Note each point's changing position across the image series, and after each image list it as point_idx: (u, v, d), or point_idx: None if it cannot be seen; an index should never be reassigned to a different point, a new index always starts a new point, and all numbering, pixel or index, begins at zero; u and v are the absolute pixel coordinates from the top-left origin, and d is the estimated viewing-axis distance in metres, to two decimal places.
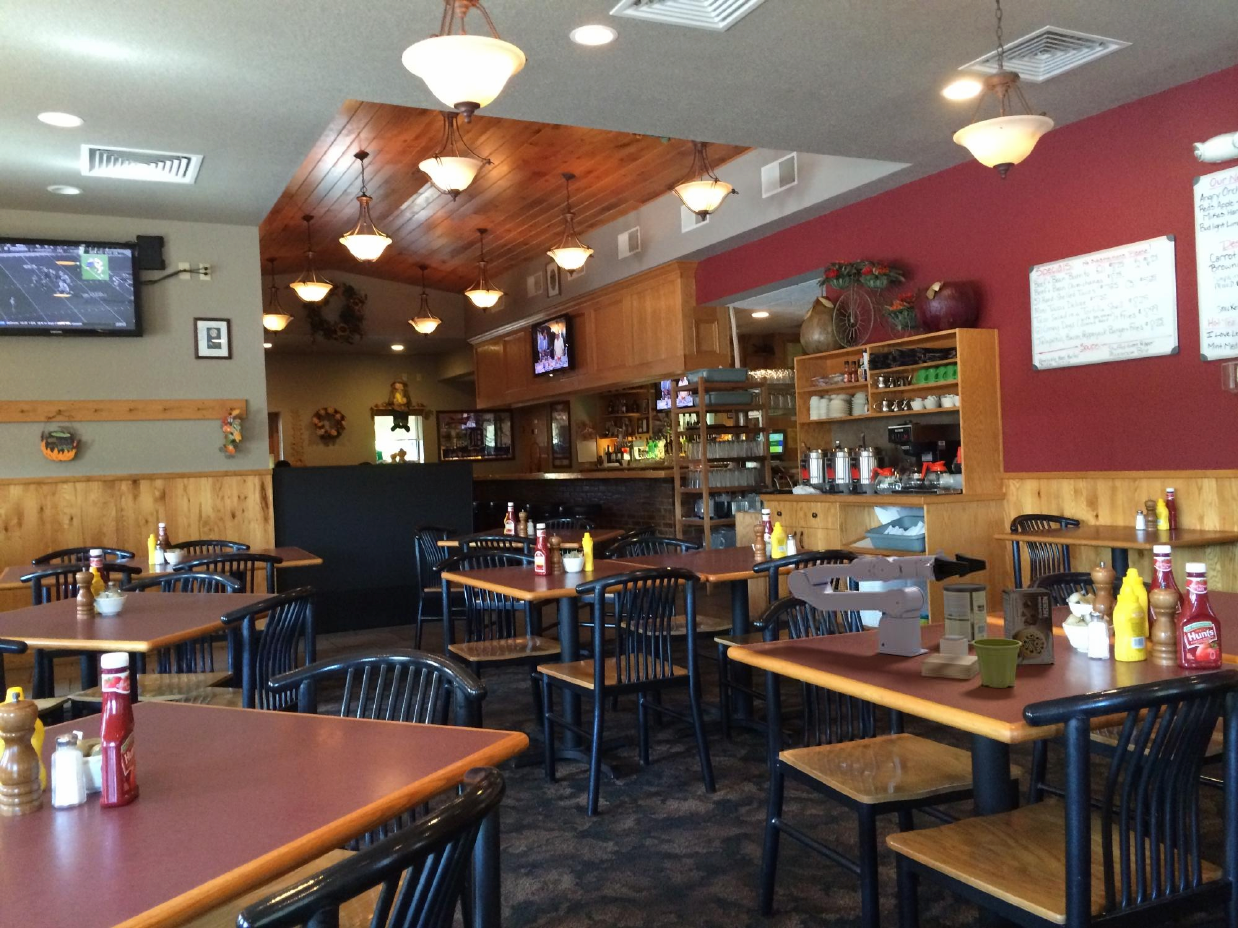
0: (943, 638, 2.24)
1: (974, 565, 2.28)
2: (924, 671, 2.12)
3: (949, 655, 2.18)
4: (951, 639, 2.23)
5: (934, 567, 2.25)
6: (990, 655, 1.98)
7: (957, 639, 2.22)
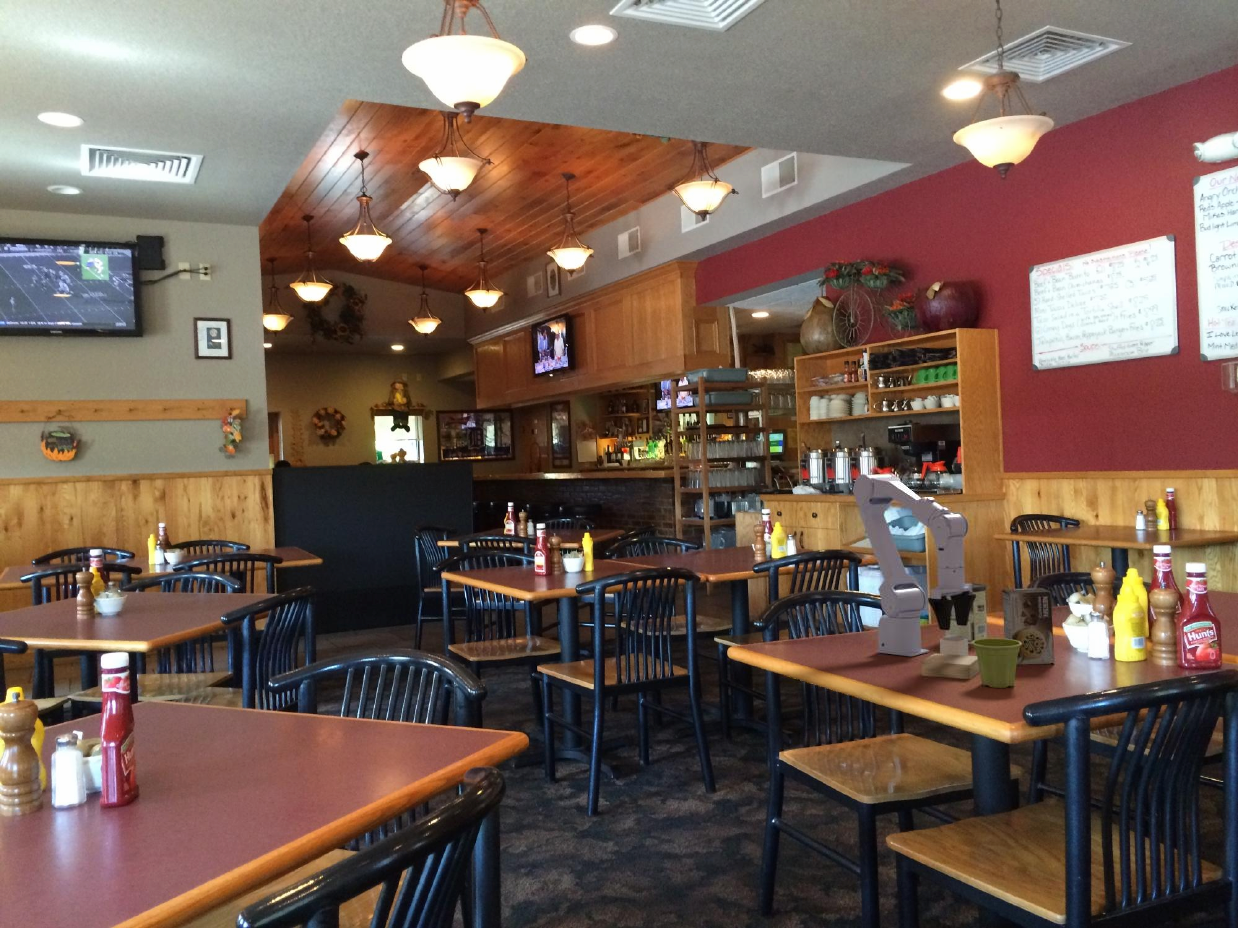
0: (943, 638, 2.24)
1: (961, 614, 2.27)
2: (924, 671, 2.12)
3: (949, 655, 2.18)
4: (951, 639, 2.23)
5: (939, 600, 2.20)
6: (990, 655, 1.98)
7: (957, 639, 2.22)
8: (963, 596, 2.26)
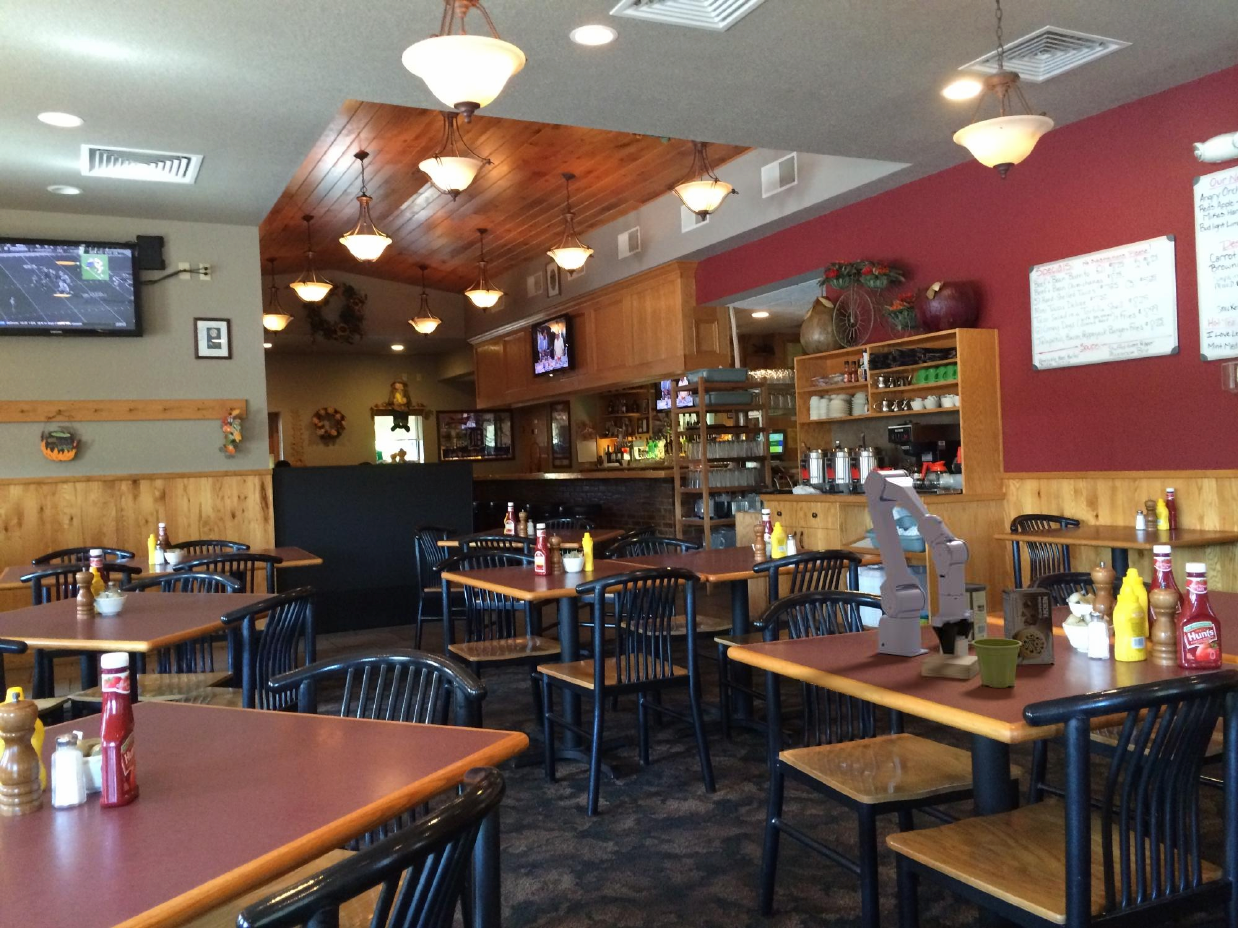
0: None
1: None
2: (924, 671, 2.12)
3: (949, 655, 2.18)
4: None
5: (943, 626, 2.21)
6: (990, 655, 1.98)
7: (957, 639, 2.22)
8: (961, 623, 2.25)
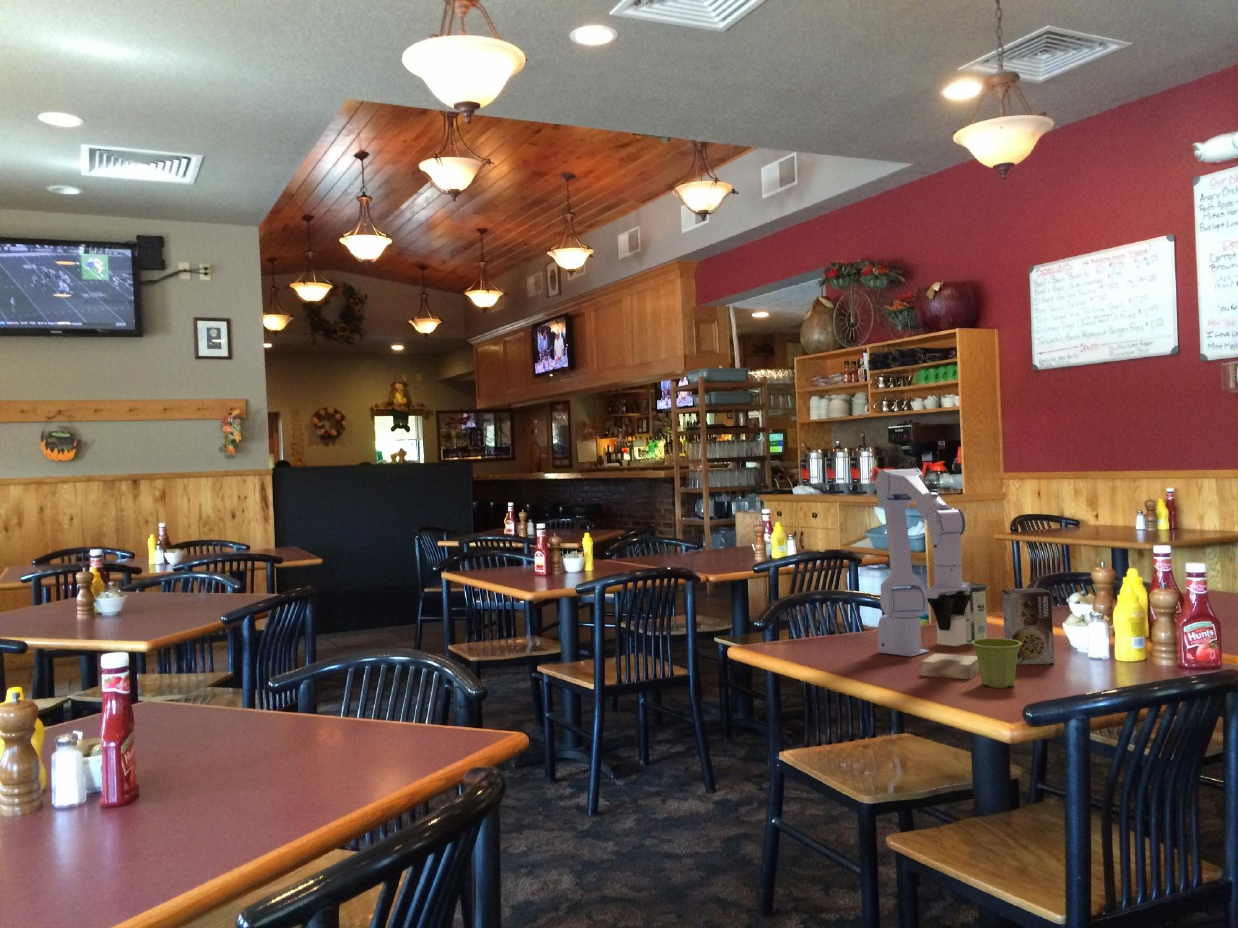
0: None
1: None
2: (924, 671, 2.12)
3: (949, 655, 2.18)
4: None
5: (939, 599, 2.11)
6: (990, 655, 1.98)
7: (955, 618, 2.12)
8: (957, 596, 2.15)
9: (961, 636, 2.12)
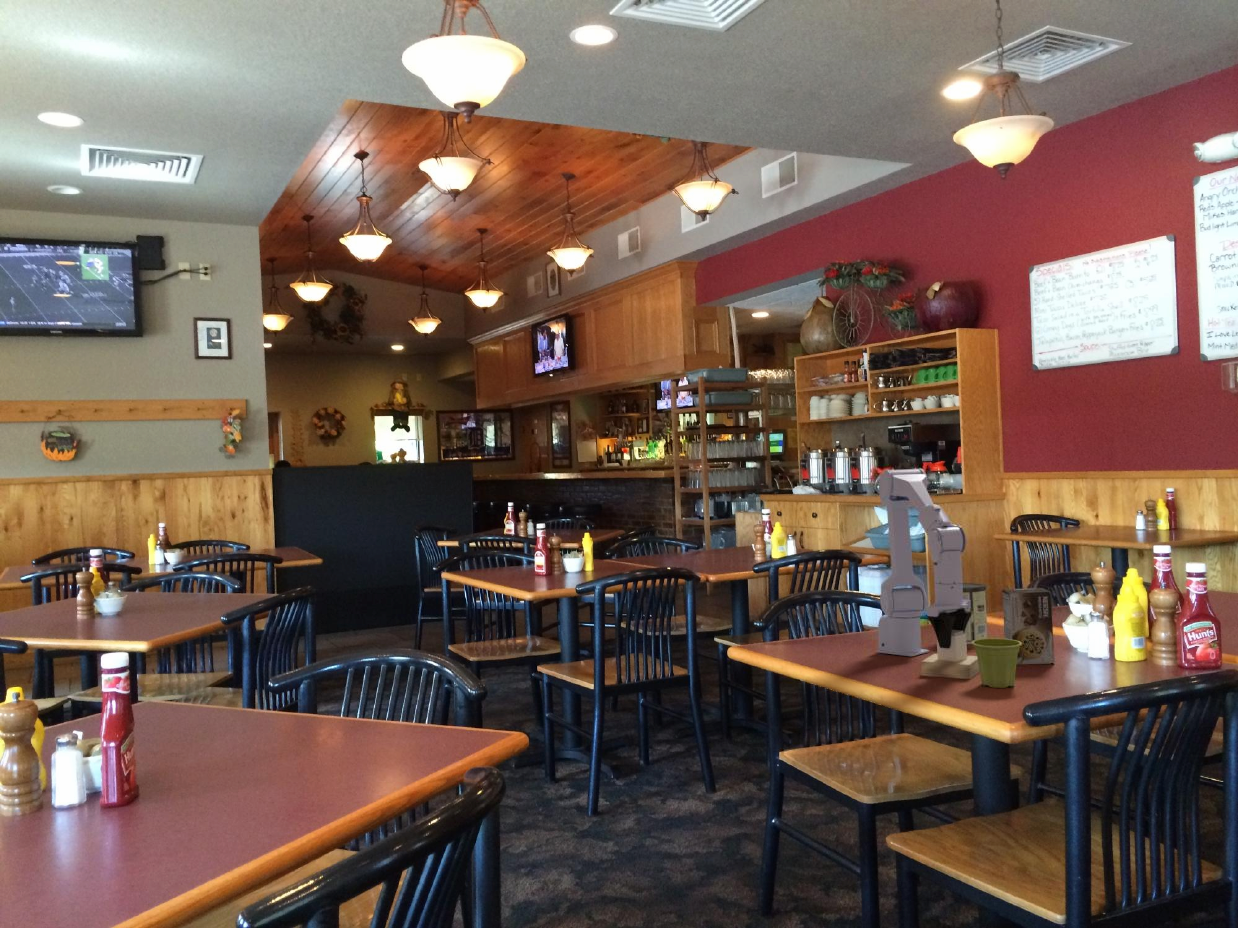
0: None
1: None
2: (924, 671, 2.12)
3: None
4: None
5: (939, 617, 2.10)
6: (990, 655, 1.98)
7: (955, 633, 2.11)
8: (958, 614, 2.15)
9: (961, 652, 2.12)
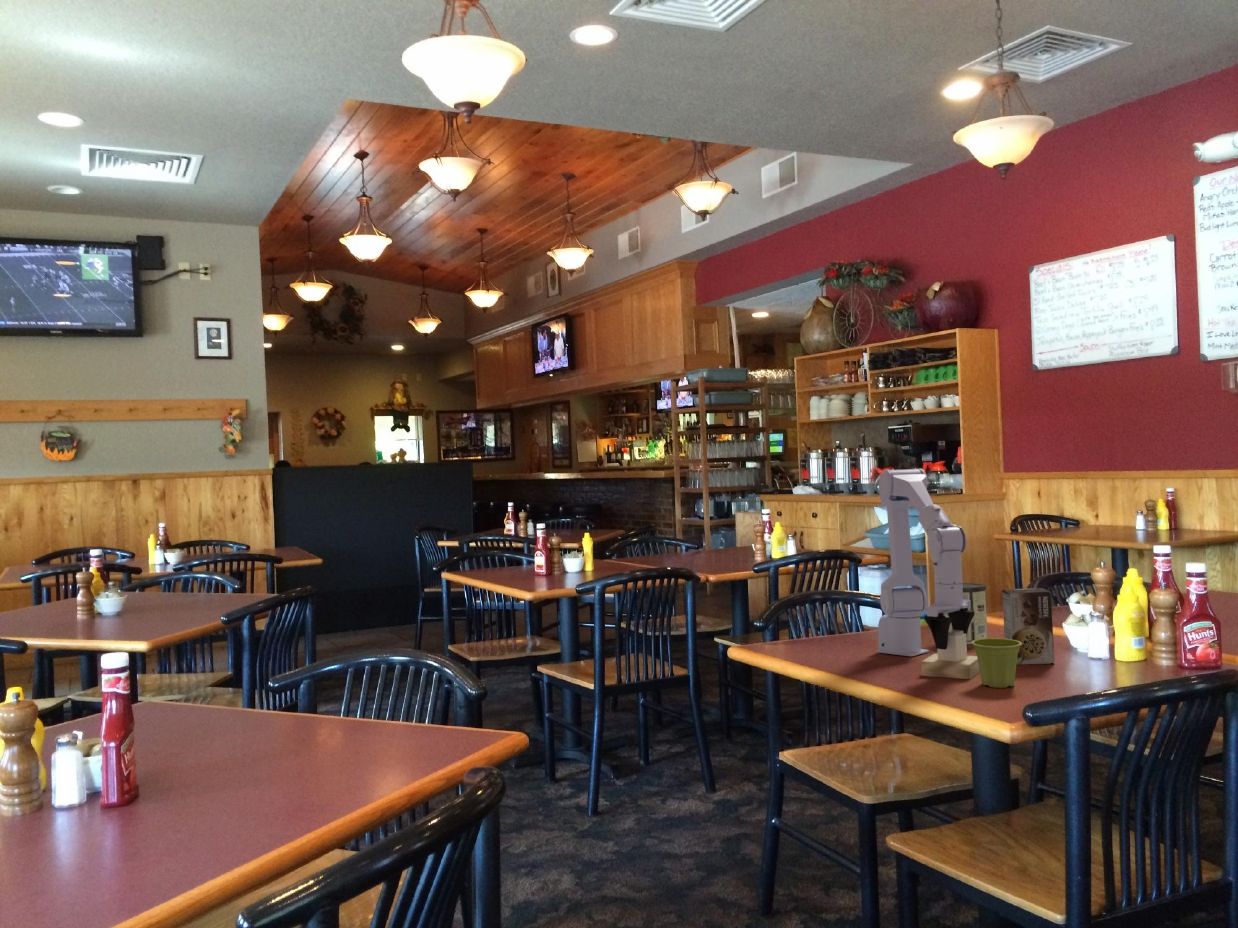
0: None
1: None
2: (924, 671, 2.12)
3: None
4: (949, 633, 2.12)
5: (936, 617, 2.09)
6: (990, 655, 1.98)
7: (955, 633, 2.11)
8: (961, 613, 2.16)
9: (961, 652, 2.12)
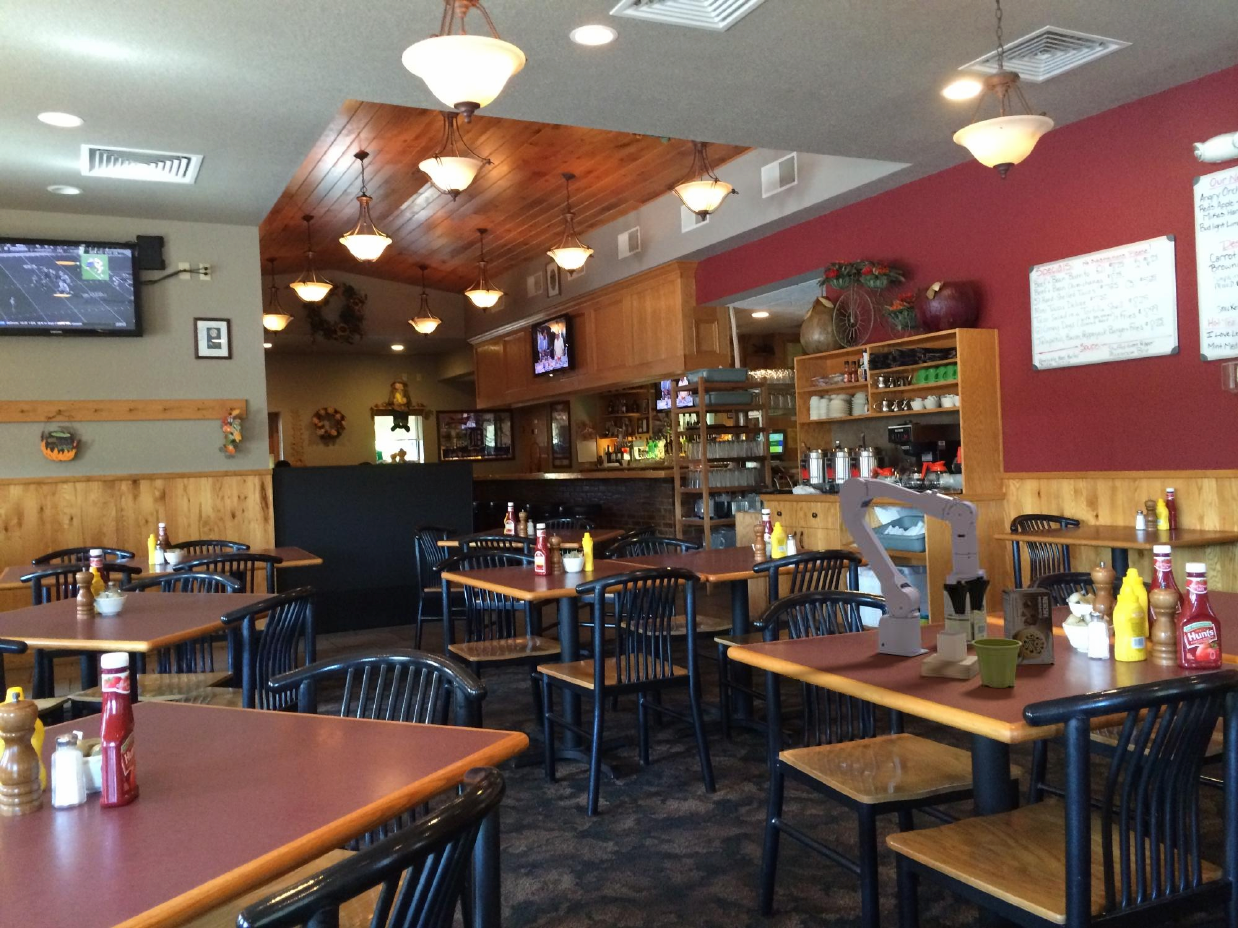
0: (940, 632, 2.13)
1: (975, 599, 2.33)
2: (924, 671, 2.12)
3: None
4: (949, 633, 2.12)
5: (954, 585, 2.26)
6: (990, 655, 1.98)
7: (955, 633, 2.11)
8: (977, 581, 2.32)
9: (961, 652, 2.12)
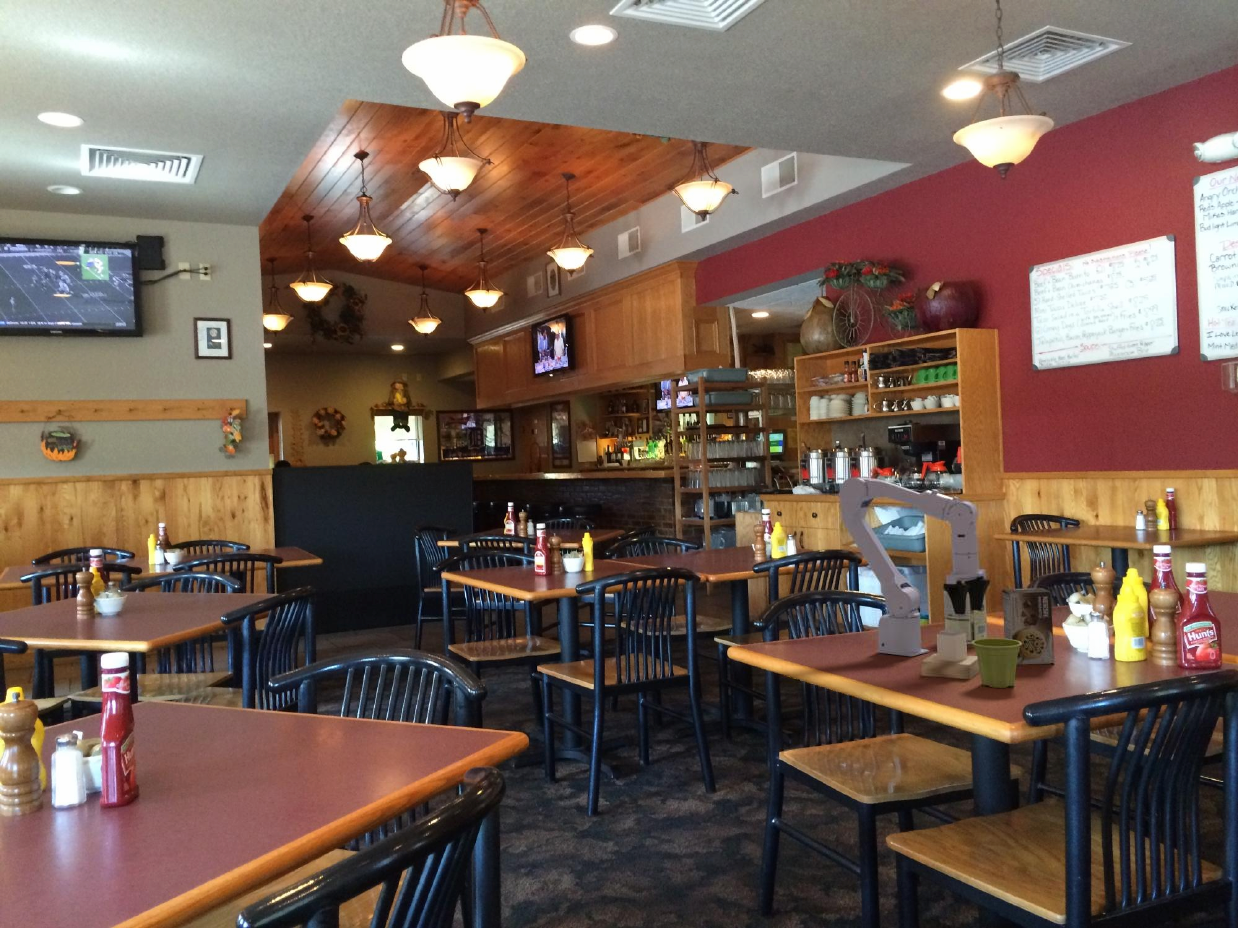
0: (940, 632, 2.13)
1: (975, 599, 2.33)
2: (924, 671, 2.12)
3: None
4: (949, 633, 2.12)
5: (954, 585, 2.26)
6: (990, 655, 1.98)
7: (955, 633, 2.11)
8: (977, 581, 2.32)
9: (961, 652, 2.12)
